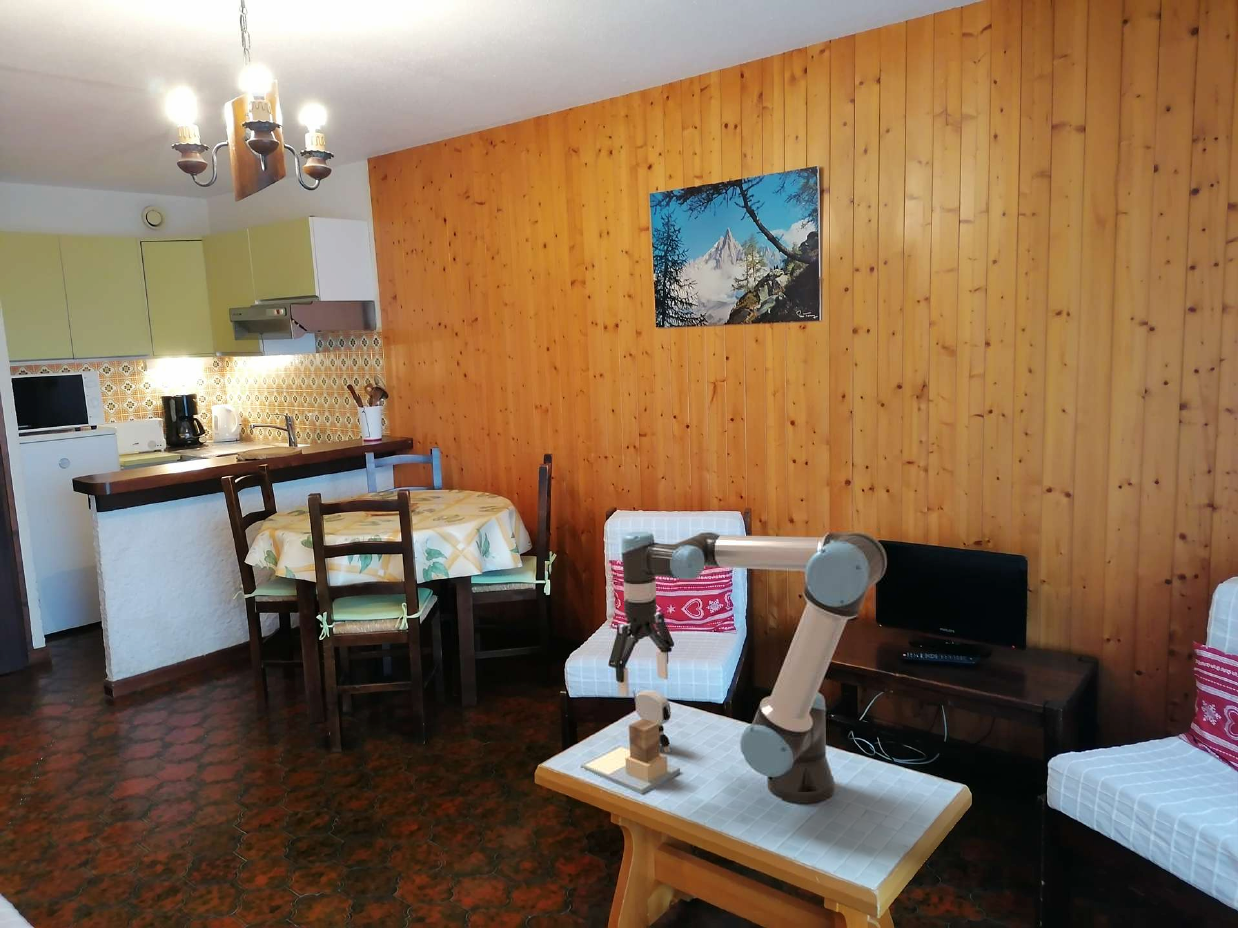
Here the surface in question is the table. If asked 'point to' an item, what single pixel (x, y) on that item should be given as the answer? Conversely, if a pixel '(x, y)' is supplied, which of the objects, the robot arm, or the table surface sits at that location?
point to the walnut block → (644, 740)
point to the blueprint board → (632, 780)
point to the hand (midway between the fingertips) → (643, 686)
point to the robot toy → (654, 712)
